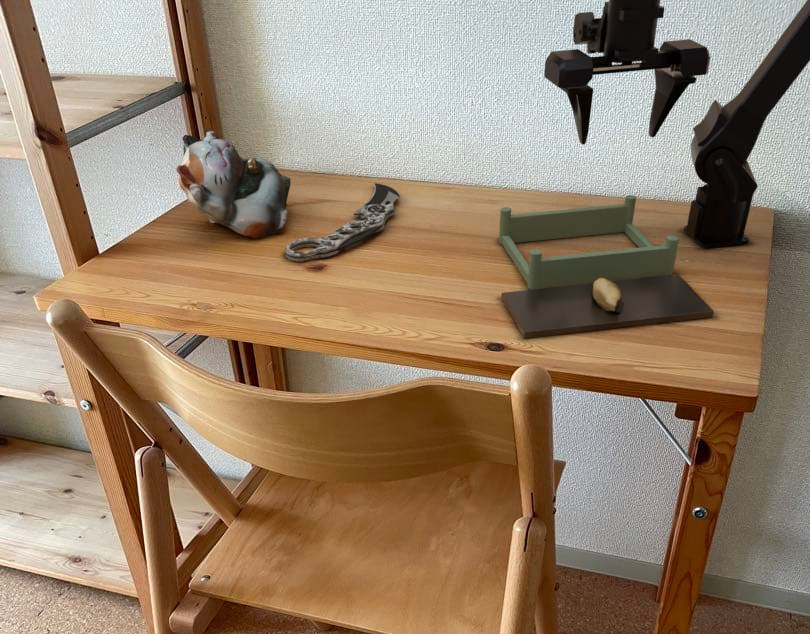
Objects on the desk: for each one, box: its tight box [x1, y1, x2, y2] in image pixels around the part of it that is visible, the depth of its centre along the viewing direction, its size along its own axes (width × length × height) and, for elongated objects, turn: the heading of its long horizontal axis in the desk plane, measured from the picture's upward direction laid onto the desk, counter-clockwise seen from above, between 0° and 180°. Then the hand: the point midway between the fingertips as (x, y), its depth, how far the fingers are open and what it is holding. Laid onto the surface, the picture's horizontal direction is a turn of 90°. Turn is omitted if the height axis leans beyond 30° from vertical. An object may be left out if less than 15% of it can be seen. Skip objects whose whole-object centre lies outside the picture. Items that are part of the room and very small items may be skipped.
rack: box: [498, 194, 680, 290], centre depth 108 cm, size 18×15×4 cm
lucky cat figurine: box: [176, 130, 292, 240], centre depth 117 cm, size 15×12×14 cm
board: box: [501, 273, 714, 339], centre depth 98 cm, size 22×10×1 cm, turn 99°
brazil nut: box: [591, 278, 624, 313], centre depth 98 cm, size 6×5×3 cm
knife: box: [284, 182, 401, 263], centre depth 119 cm, size 28×2×10 cm
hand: (617, 139), depth 107 cm, fingers open, 9 cm apart
